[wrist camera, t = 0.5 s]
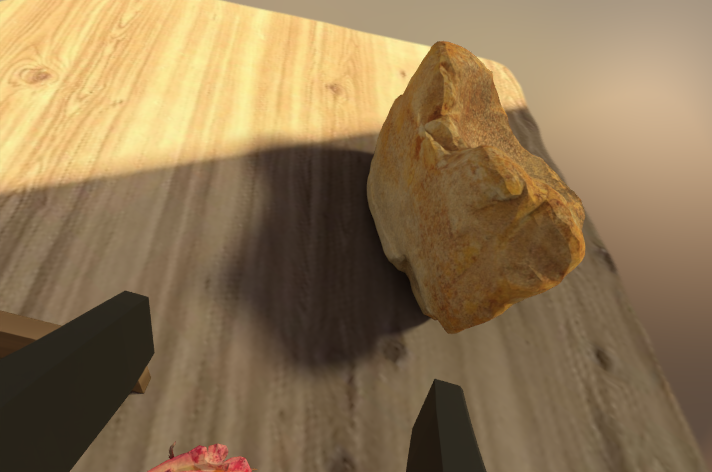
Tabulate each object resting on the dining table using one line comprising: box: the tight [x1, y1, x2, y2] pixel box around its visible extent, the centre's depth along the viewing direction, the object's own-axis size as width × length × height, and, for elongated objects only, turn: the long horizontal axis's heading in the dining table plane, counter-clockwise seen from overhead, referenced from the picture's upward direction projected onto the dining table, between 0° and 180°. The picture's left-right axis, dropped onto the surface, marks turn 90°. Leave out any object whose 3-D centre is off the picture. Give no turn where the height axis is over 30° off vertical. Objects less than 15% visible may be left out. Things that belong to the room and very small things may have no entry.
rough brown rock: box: [367, 41, 585, 334], centre depth 35 cm, size 23×16×15 cm
